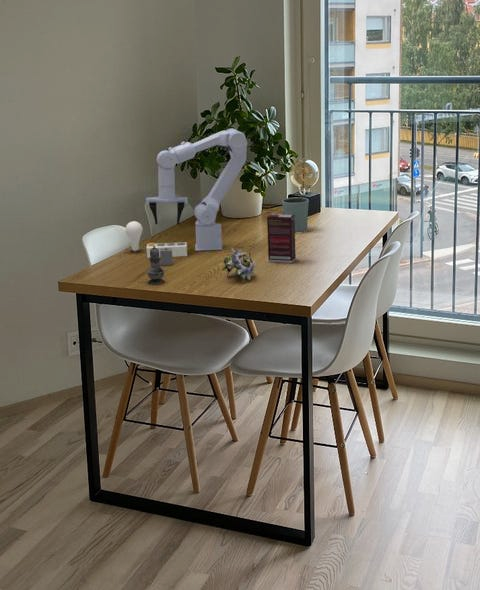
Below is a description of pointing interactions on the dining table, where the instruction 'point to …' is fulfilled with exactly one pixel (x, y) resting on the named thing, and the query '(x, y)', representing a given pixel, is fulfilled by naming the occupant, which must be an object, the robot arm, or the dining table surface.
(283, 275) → the dining table surface
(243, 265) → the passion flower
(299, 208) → the grey green plant pot
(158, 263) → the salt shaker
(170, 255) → the block
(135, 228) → the lightbulb
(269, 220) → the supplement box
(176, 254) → the power strip
